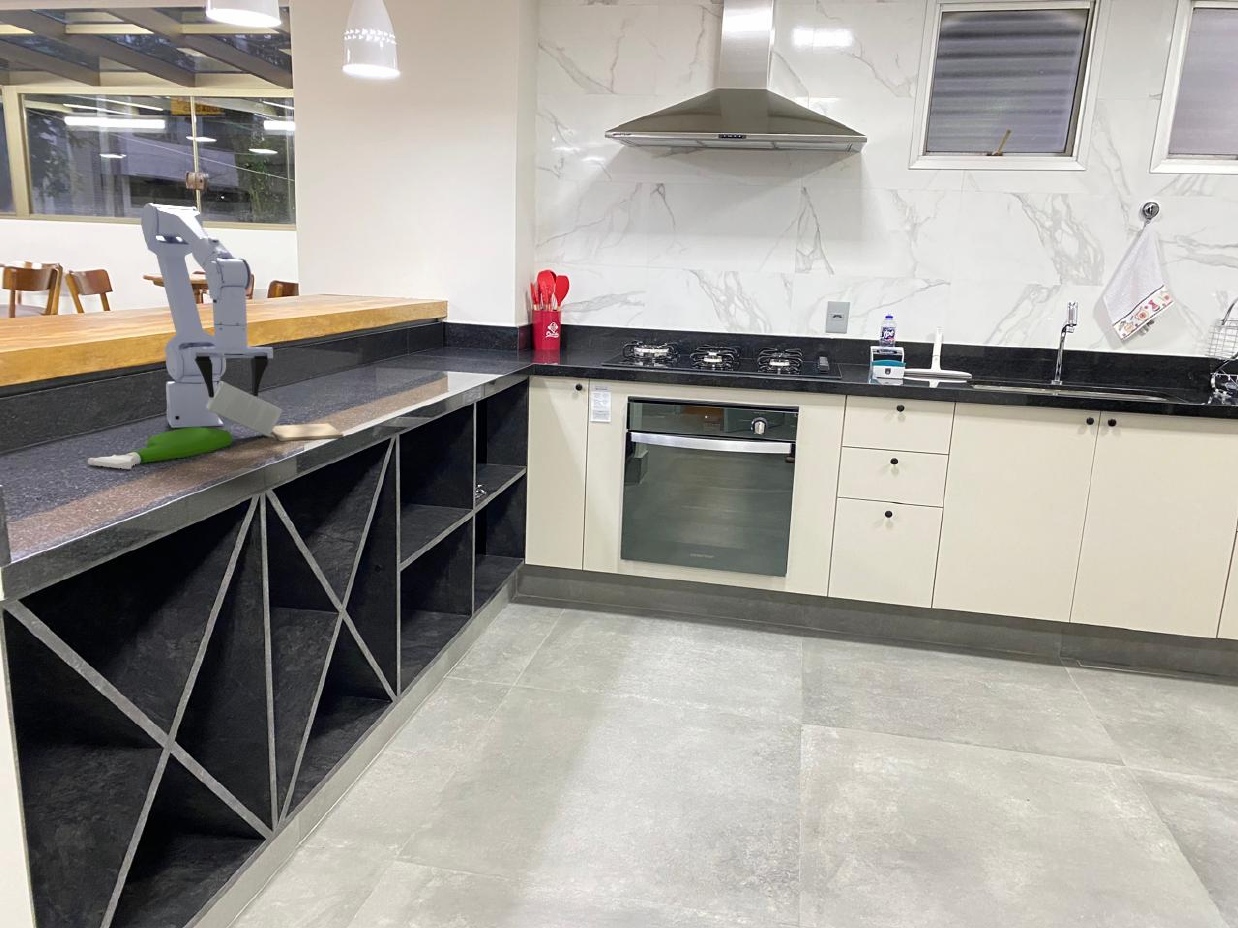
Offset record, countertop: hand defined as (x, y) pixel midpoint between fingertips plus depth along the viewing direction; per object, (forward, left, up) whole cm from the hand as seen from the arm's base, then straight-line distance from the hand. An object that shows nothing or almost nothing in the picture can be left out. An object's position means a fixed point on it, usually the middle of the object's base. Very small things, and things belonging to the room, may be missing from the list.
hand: (233, 396), depth 168 cm
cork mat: (+13, 0, -8) cm, 15 cm away
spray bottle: (-13, -11, -9) cm, 19 cm away
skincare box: (+7, -1, -6) cm, 9 cm away
